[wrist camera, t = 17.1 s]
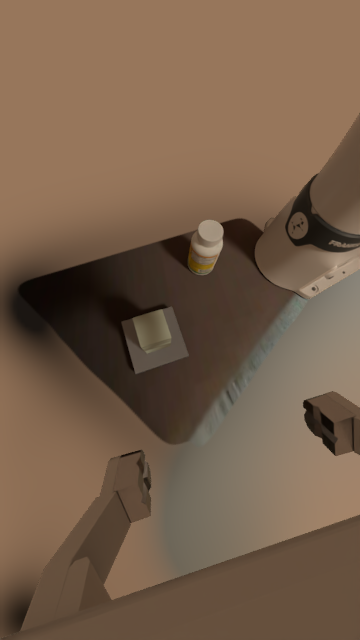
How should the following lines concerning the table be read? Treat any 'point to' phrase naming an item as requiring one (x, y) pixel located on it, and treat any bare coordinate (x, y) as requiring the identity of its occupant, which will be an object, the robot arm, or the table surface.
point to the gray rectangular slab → (158, 357)
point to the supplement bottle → (205, 247)
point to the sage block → (152, 331)
